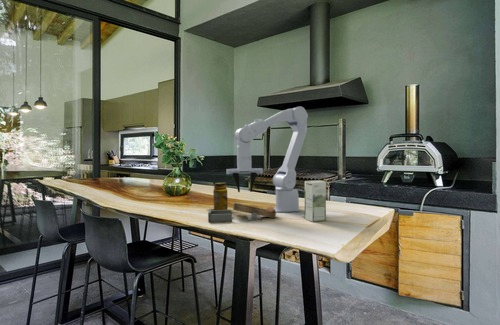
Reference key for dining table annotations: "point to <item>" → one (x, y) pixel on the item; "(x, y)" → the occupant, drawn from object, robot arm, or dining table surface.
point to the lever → (253, 210)
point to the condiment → (220, 197)
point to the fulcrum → (254, 217)
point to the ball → (270, 209)
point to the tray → (219, 216)
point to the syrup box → (315, 200)
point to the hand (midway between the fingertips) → (244, 191)
